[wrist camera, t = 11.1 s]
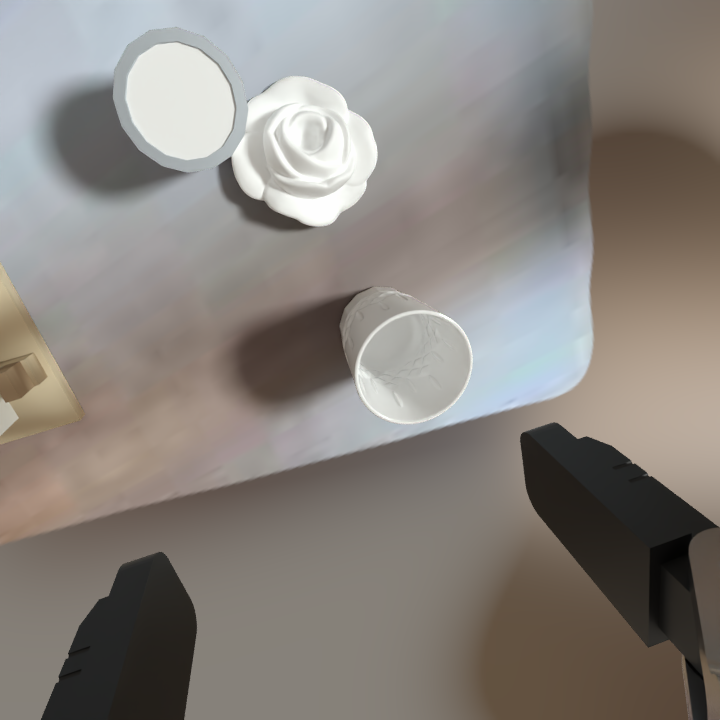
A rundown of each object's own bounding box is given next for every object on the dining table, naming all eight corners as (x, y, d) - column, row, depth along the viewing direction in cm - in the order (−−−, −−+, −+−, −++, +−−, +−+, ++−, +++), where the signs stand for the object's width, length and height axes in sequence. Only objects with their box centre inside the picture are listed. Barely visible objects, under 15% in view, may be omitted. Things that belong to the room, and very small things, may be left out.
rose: (264, 254, 31) (199, 95, 27) (264, 245, 35) (207, 107, 31) (403, 202, 31) (358, 40, 28) (387, 200, 36) (346, 58, 32)
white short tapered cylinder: (252, 177, 33) (250, 176, 26) (149, 171, 31) (120, 168, 25) (249, 65, 30) (246, 34, 24) (137, 53, 29) (102, 17, 23)
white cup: (406, 263, 37) (453, 289, 28) (435, 346, 40) (486, 394, 31) (317, 302, 37) (335, 342, 28) (353, 383, 40) (380, 443, 31)
